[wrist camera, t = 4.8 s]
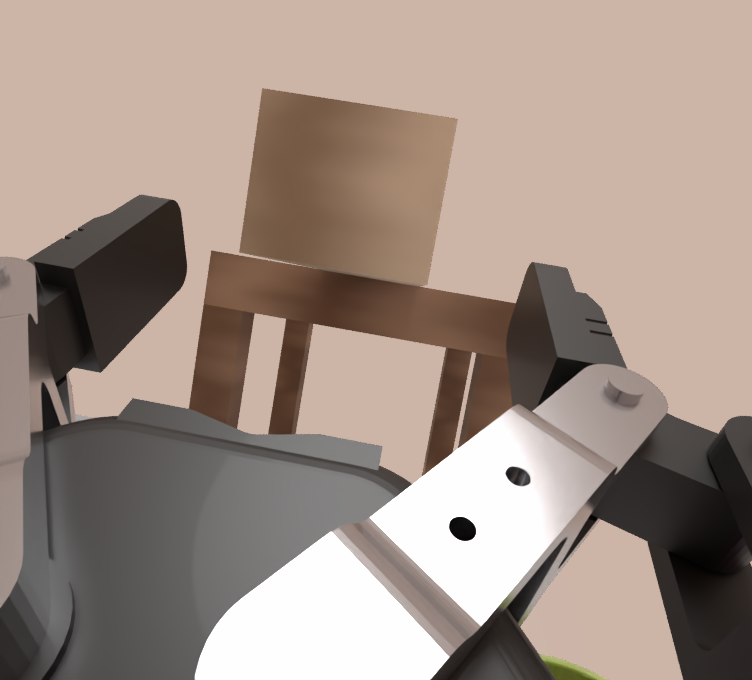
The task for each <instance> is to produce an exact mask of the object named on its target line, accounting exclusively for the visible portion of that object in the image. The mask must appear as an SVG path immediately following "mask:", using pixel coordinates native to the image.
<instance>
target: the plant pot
mask: <svg viewBox="0 0 752 680" xmlns="http://www.w3.org/2000/svg"><path fill="white" fill-rule="evenodd" d="M539 655H540V654H539ZM540 657H541V658H542V660H543V661H544V663H545V664H546V665H547V667H548V668H549V670H550V671H551V673H552V674H553V676H554V677H555V679H556V680H607V679H605V678H603V677H602V676H600V675H598V674H596V673H594V672H592V671H590V670H588V669H586V668H584V667H581V666H579V665H576V664H572V663H569V662H568V661H565V660H562V659H558V658H555V657H551V656H545V655H540Z"/></svg>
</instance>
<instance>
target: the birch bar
mask: <svg viewBox="0 0 752 680" xmlns="http://www.w3.org/2000/svg"><path fill="white" fill-rule="evenodd" d="M456 125H457V119H455V118H449V117H443V116H436V115H429V114H423V113H417V112H411V111H404V110H398V109H391V108H385V107H379V106H372V105H366V104H359V103H352V102H346V101H340V100H334V99H327V98H321V97H315V96H308V95H301V94H295V93H289V92H282V91H276V90H270V89H262V94H261V101H260V109H259V116H258V123H257V131H256V137H255V144H254V151H253V158H252V166H251V173H250V180H249V187H248V194H247V201H246V208H245V216H244V222H243V230H242V237H241V244H240V251H239V252H240V253H245V254H250V255H254V256H259V257H264V258H269V259H273V260H278V261H283V262H288V263H293V264H297V265H302V266H306V267H311V268H316V269H320V270H326V271H331V272H337V273H343V274H349V275H354V276H360V277H366V278H372V279H377V280H383V281H389V282H395V283H400V284H406V285H412V286H418V287H420V286H424V285H427V283H428V277H429V272H430V267H431V261H432V256H433V250H434V245H435V239H436V234H437V229H438V223H439V218H440V212H441V207H442V201H443V196H444V190H445V185H446V180H447V174H448V169H449V163H450V158H451V152H452V146H453V141H454V136H455V131H456Z"/></svg>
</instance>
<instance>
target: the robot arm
mask: <svg viewBox="0 0 752 680" xmlns="http://www.w3.org/2000/svg"><path fill="white" fill-rule="evenodd" d="M186 273H187V261H186V252H185V244H184V234H183V226H182V217H181V211H180V208H179V205H178V203H177V202H176V201H174V200H169V199H164V198H158V197H152V196H146V195H139V196H137V197H135V198H134V199H132V200H130V201H129V202H127V203H126V204H124V205H123V206H121V207H119V208H118V209H116V210H115V211H113V212H111V213H110V214H107V215H104V216H100V217H97V218H94V219H92V220H91V221H89V222H87V223H86V224H84V225H82V226H81V227H79V228H78V231H76V230H74V231H73V232H71V233H69V234H68V235H67V236H65V239H60V240H58V241H56V242H55V243H53V244H52V245H50V246H48V247H47V248H45V249H43V250H42V251H40V252H39V253H37V254H35V255H34V256H33V257H31V258H29V259H27V260H23V259H19V258H13V257H0V680H556V679H555V677H554V676H553V674H552V673H551V671H550V670H549V668H548V667H547V665H546V664H545V663H544V661H543V660H542V658H541V657H540V655H539V654H538V653H537V651H536V650H535V648H534V647H533V645H532V644H531V642H530V641H529V639H528V638H527V637H526V635H525V633H524V632H523V631H522V630H521V628H520V626H521V625H522V623H523V622H524V621H525V619H526V618H527V617H528V615H529V613H530V612H531V611H532V609H533V608H534V607H535V605H536V604H537V602H538V601H539V599H540V598H541V596H542V595H543V593H544V592H545V590H546V589H547V588H548V586H549V585H550V583H551V582H552V581H553V580H554V578H555V577H556V576H557V575H558V573H559V572H560V571H561V569H562V568H563V567H564V566H565V564H566V563H567V562H568V560H569V559H570V558H571V557H572V555H573V554H574V552H575V551H576V550H577V549H578V548H579V546H580V545H581V544H582V542H583V541H584V540H585V538H586V537H587V536H588V535H589V533H590V532H591V531H592V530H593V528H594V527H595V526H596V524H597V523H598V522H599V520H600V519H601V520H604V521H606V522H608V523H610V524H612V525H614V526H616V527H618V528H621V529H623V530H625V531H627V532H629V533H631V534H634V535H635V536H638V537H640V538H642V539H644V540H646V541H648V546H649V550H650V554H651V557H652V561H653V565H654V569H655V573H656V577H657V580H658V584H659V588H660V592H661V596H662V600H663V604H664V607H665V611H666V615H667V619H668V623H669V627H670V630H671V634H672V638H673V642H674V645H675V649H676V653H677V657H678V661H679V664H680V669H681V672H682V676H683V680H752V567H751V564H750V562H751V561H752V417H751V416H738V417H734V418H731V419H730V420H728V421H727V423H726V424H725V426H724V427H723V428H722V430H721V431H720V432H719V434H717V433H715V432H712V431H709V430H707V429H704V428H701V427H699V426H696V425H694V424H691V423H689V422H686V421H683V420H681V419H678V418H676V417H674V416H672V415H670V414H668V413H667V411H668V403H667V400H666V398H665V396H664V395H663V393H662V392H661V391H660V390H659V389H658V387H656V386H655V385H654V384H653V383H652V382H650V381H649V380H648V379H646V378H645V377H643V376H641V375H639V374H637V373H635V372H633V371H631V370H628V369H627V367H626V365H625V362H624V360H623V358H622V356H621V353H620V351H619V348H618V346H617V344H616V341H615V339H614V337H612V332H611V329H610V327H609V325H607V320H606V318H605V315H604V313H603V310H602V308H601V307H600V306H599V305H598V304H597V303H596V302H595V301H594V300H593V299H592V298H590V297H589V296H588V295H587V294H586V293H580V292H576V291H575V289H574V286H573V283H572V280H571V278H570V275H569V272H568V269H567V268H564V267H558V266H553V265H547V264H540V263H535V262H532V263H531V264H530V265H529V267H528V269H527V272H526V274H525V278H524V281H523V284H522V287H521V290H520V293H519V296H518V299H517V302H516V305H515V308H514V311H513V314H512V317H511V320H510V324H509V328H508V333H507V339H506V352H507V361H508V370H509V379H510V388H511V397H512V406H513V407H512V408H510V409H509V410H508V411H506V412H505V413H504V414H503V415H501V416H500V417H499V418H497V419H496V420H495V421H494V422H492V423H491V424H490V425H488V426H487V427H486V428H485V429H483V430H482V431H481V432H479V433H478V434H477V435H476V436H474V437H473V438H472V439H470V440H469V441H468V442H467V443H465V444H464V445H463V446H462V447H460V448H459V449H458V450H456V451H455V452H454V453H453V454H451V455H450V456H449V457H447V458H446V459H445V460H444V461H442V462H441V463H440V464H438V465H437V466H436V467H435V468H433V469H432V470H431V471H429V472H428V473H427V474H426V475H424V476H423V477H422V478H420V479H419V480H418V481H417V482H415V483H414V484H411V483H410V482H408V481H407V480H405V479H404V478H402V477H401V476H399V475H397V474H395V473H394V472H392V471H390V470H388V469H386V468H383V467H381V466H379V462H380V457H381V451H382V446H378V445H373V444H367V443H362V442H357V441H352V440H347V439H341V438H336V437H331V436H326V435H321V434H298V435H297V434H285V435H255V434H248V433H245V432H243V431H240V430H238V429H236V428H233V427H231V426H229V425H227V424H224V423H222V422H220V421H217V420H215V419H213V418H210V417H208V416H206V415H203V414H201V413H199V412H197V411H194V410H191V409H185V408H180V407H175V406H170V405H165V404H160V403H154V402H149V401H144V400H139V399H134V398H133V399H132V400H131V401H130V403H129V404H128V405H127V406H126V407H125V409H124V410H123V411H122V412H121V414H120V415H119V416H110V417H99V418H92V419H86V420H80V421H76V420H75V411H74V404H73V403H74V402H73V394H72V386H71V382H70V379H69V376H68V372H69V371H70V370H71V369H72V368H73V367H74V368H79V369H85V370H90V371H95V372H102V371H103V369H105V368H106V367H107V366H108V364H109V363H110V362H111V361H112V360H113V359H114V358H115V357H116V356H117V355H118V354H119V353H120V352H121V351H122V350H123V349H124V348H125V347H126V345H127V344H128V343H129V342H130V341H131V340H132V339H133V338H134V337H135V336H136V335H137V334H138V333H139V332H140V331H141V329H143V328H144V327H145V326H146V325H147V323H148V322H149V321H150V320H151V319H152V318H153V317H154V316H155V315H156V314H157V313H158V312H159V311H160V310H161V309H162V308H163V307H164V306H165V305H166V304H167V302H168V301H169V300H170V299H171V298H172V297H173V296H174V295H175V294H176V293H177V292H178V291H179V290H180V289H181V287H182V285H183V283H184V281H185V277H186Z"/></svg>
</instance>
